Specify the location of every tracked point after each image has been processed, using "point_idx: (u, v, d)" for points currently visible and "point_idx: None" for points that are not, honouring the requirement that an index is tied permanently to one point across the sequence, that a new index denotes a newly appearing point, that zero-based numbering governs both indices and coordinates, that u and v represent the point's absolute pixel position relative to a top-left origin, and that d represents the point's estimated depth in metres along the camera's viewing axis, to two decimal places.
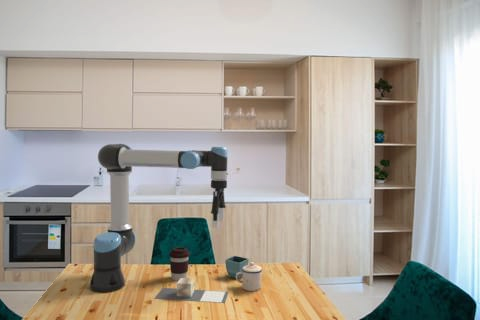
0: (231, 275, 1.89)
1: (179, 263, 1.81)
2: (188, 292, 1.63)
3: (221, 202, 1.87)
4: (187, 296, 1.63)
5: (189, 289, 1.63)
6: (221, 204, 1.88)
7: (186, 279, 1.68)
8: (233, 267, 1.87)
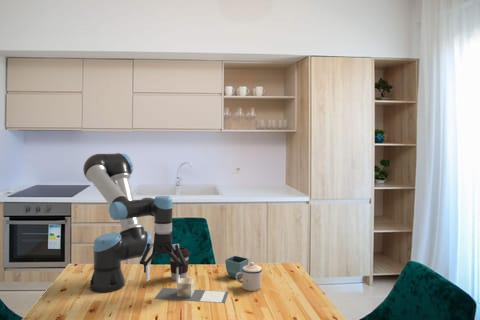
0: (231, 275, 1.89)
1: None
2: (188, 292, 1.63)
3: None
4: (187, 296, 1.63)
5: (189, 289, 1.63)
6: None
7: (186, 279, 1.68)
8: (233, 267, 1.87)
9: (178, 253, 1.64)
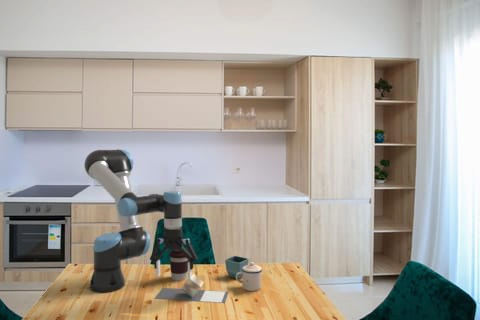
0: (231, 275, 1.89)
1: (179, 263, 1.81)
2: (193, 292, 1.63)
3: None
4: (190, 294, 1.63)
5: (196, 290, 1.63)
6: None
7: (197, 278, 1.67)
8: (233, 267, 1.87)
9: (189, 248, 1.64)
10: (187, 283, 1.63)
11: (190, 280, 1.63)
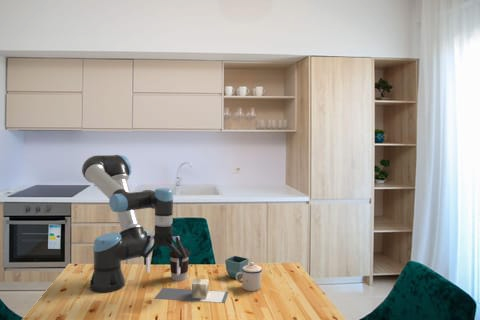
0: (231, 275, 1.89)
1: None
2: (197, 295, 1.63)
3: None
4: (193, 294, 1.63)
5: (200, 297, 1.63)
6: None
7: (208, 287, 1.67)
8: (233, 267, 1.87)
9: (178, 245, 1.65)
10: (200, 285, 1.62)
11: (204, 286, 1.62)
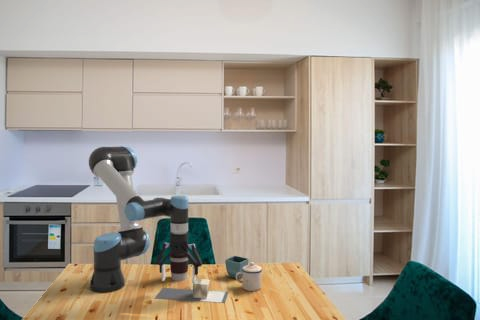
0: (231, 275, 1.89)
1: (179, 263, 1.81)
2: (197, 295, 1.63)
3: None
4: (193, 294, 1.63)
5: (201, 296, 1.63)
6: None
7: (209, 287, 1.67)
8: (233, 267, 1.87)
9: (194, 253, 1.64)
10: (201, 285, 1.62)
11: (205, 286, 1.62)
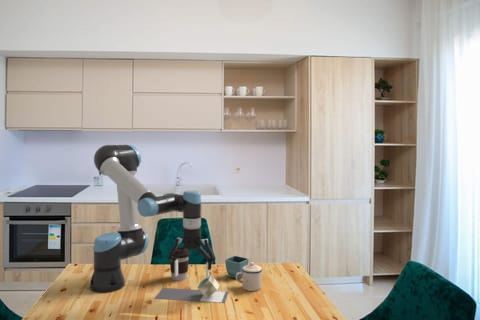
0: (231, 275, 1.89)
1: (179, 263, 1.81)
2: (202, 290, 1.62)
3: None
4: (200, 286, 1.62)
5: (203, 293, 1.62)
6: None
7: None
8: (233, 267, 1.87)
9: (207, 248, 1.63)
10: (212, 286, 1.62)
11: (215, 290, 1.62)
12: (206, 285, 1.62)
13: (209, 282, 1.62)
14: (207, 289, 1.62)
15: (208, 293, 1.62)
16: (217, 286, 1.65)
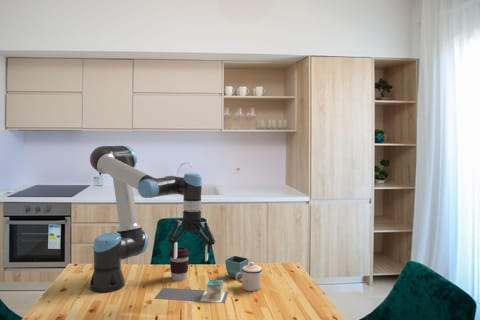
0: (231, 275, 1.89)
1: (179, 263, 1.81)
2: (209, 290, 1.62)
3: None
4: (210, 286, 1.62)
5: (208, 293, 1.62)
6: None
7: None
8: (233, 267, 1.87)
9: (207, 231, 1.63)
10: (219, 293, 1.62)
11: (218, 298, 1.62)
12: (215, 289, 1.62)
13: (219, 288, 1.62)
14: (213, 292, 1.62)
15: (211, 296, 1.62)
16: (221, 295, 1.65)
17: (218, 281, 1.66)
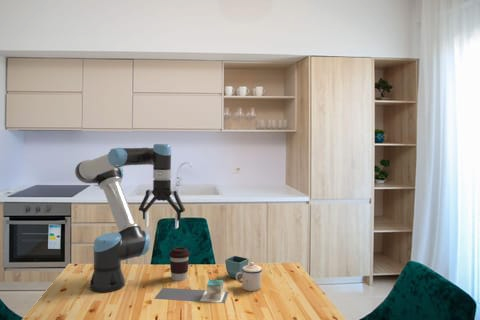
0: (231, 275, 1.89)
1: (179, 263, 1.81)
2: (209, 290, 1.62)
3: None
4: (210, 286, 1.62)
5: (208, 293, 1.62)
6: None
7: None
8: (233, 267, 1.87)
9: (177, 199, 1.68)
10: (219, 293, 1.62)
11: (218, 298, 1.62)
12: (215, 289, 1.62)
13: (219, 288, 1.62)
14: (213, 292, 1.62)
15: (211, 296, 1.62)
16: (221, 295, 1.65)
17: (218, 281, 1.66)
